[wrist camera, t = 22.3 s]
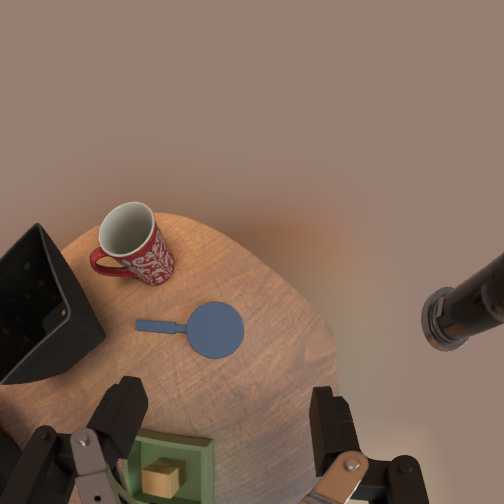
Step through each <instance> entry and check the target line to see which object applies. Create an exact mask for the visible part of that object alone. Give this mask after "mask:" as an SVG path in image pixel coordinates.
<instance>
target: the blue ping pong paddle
mask: <svg viewBox="0 0 504 504" xmlns="http://www.w3.org/2000/svg"><path fill="white" fill-rule="evenodd" d="M135 330H137V331H147V332H158V333H171V334H175V333H176V332H182V333H187V338H188V341H189V343H190V345H191V346H192V348H193V349H194V350H195V351H196V352H198V353H199V354H201V355H203V356H205V357H208V358H214V359H215V358H223V357H226V356H228V355H230V354H232V353H233V352H234V351H235V350H236V349H237V348H238V347H239V345H240V344H241V342H242V339H243V335H244V326H243V322H242V319H241V317H240V315H239V314H238V312H237V311H236V310H235V309H234V308H232V307H231V306H229V305H227V304H225V303H221V302H210V303H206V304H204V305H202V306H200V307H198V308H197V309H196V310H195V311H194V312H193V313H192V315H191V316H190V318H189V320H188V323H187V325H180V324H176V323H175V322H163V321H149V320H136V328H135Z"/></svg>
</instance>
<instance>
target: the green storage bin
mask: <svg viewBox="0 0 504 504" xmlns="http://www.w3.org/2000/svg"><path fill="white" fill-rule="evenodd" d="M213 451H214V440H212V439H202V438H193V437H185V436H178V435H172V434H166V433H160V432H154V431H149V430H144V429H139V431H138V433H137V436H136V438H135V441H134V443H133V446H132V448H131V451H130V453H129V456H128V459H127V460H125V459H123V469H124V480H125V483H126V485H127V487H128V489H129V492H130V494H131V495H132V497H133V498H134V500H135V501H136V503H137V504H150V502H153V503H157V504H214V499H213ZM161 457H163V458H168V459H174V460H181V461H185V464H186V482H185V483H184V485H183V486H182V487H181V488H180V489H179V490H178V491H177V492H176V493H175V494H174V496H173V497H172V498H171V499H169V498H164V497H160V496H155V495H151V494H147V493H143V487H142V469H143V468H145V467H146V466H148V465H150V464H151V463H153V462H155V461H156V460H158V459H159V458H161Z"/></svg>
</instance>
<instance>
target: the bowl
mask: <svg viewBox="0 0 504 504" xmlns="http://www.w3.org/2000/svg"><path fill="white" fill-rule="evenodd" d="M21 455H22V452H21V450H20V449H19V447H18V446H17V444H16V443H15V442H14V441H13V439H12V438H11V437H10V436H9V435H8V434H7V433H5V432H4V431H3V430H2V429H1V428H0V498H1V496H2V494H3V492H4V490H5V487H6V485H7V483H8V481H9V479H10V477H11V475H12V473H13V471H14V469H15V467H16V465H17V463H18V461H19V459H20V457H21Z"/></svg>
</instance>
